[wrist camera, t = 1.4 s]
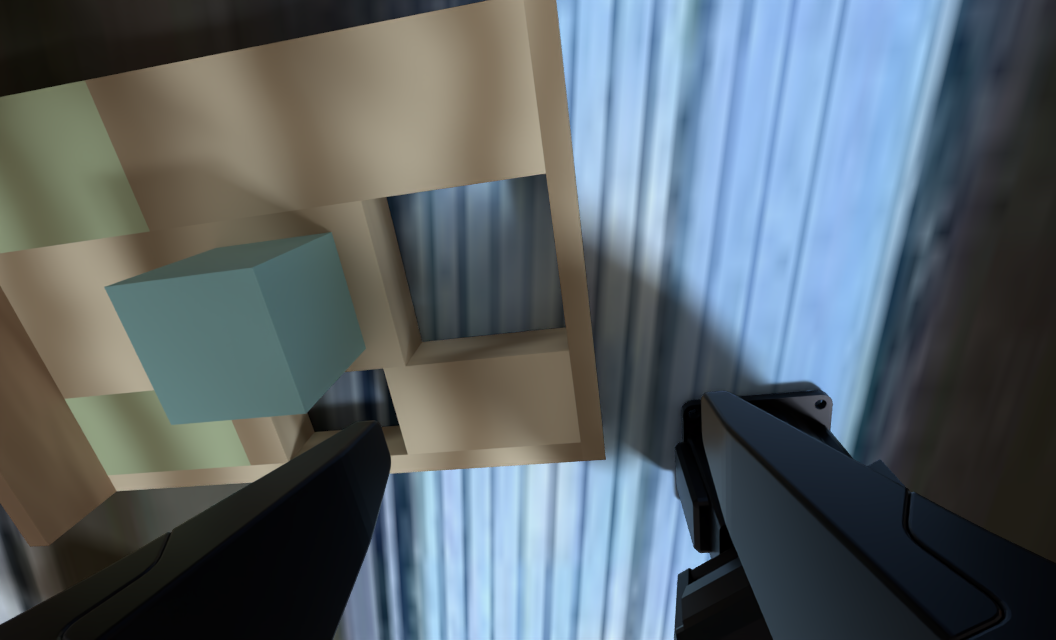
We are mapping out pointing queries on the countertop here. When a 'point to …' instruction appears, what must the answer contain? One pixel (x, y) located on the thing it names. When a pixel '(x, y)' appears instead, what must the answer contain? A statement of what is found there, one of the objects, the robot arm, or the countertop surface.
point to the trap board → (270, 214)
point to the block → (242, 328)
